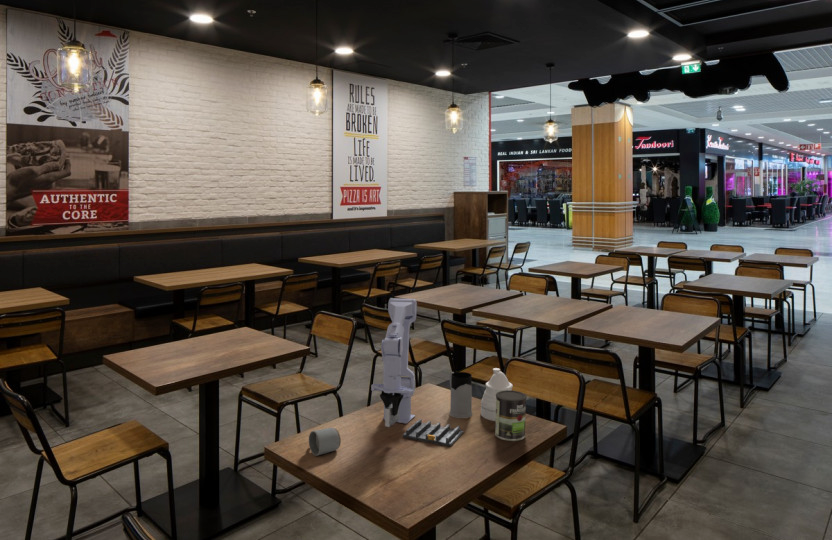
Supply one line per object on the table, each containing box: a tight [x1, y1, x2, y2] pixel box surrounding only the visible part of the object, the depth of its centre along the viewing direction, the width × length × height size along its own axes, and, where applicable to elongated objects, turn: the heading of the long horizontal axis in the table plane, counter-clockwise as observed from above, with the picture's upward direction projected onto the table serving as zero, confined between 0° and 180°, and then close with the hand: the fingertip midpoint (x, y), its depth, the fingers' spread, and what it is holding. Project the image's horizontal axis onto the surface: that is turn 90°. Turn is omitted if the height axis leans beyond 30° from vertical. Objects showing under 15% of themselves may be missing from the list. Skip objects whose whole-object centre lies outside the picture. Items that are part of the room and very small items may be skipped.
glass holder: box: [449, 371, 473, 419], centre depth 217 cm, size 9×14×15 cm, turn 21°
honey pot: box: [480, 367, 514, 422], centre depth 213 cm, size 13×13×18 cm
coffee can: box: [494, 390, 527, 442], centre depth 195 cm, size 10×10×14 cm
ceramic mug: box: [308, 427, 342, 457], centre depth 183 cm, size 11×8×8 cm
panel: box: [384, 404, 399, 428], centre depth 189 cm, size 2×7×6 cm, turn 156°
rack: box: [402, 418, 464, 447], centre depth 195 cm, size 17×12×2 cm
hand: (392, 414), depth 189 cm, fingers closed on panel, 2 cm apart
